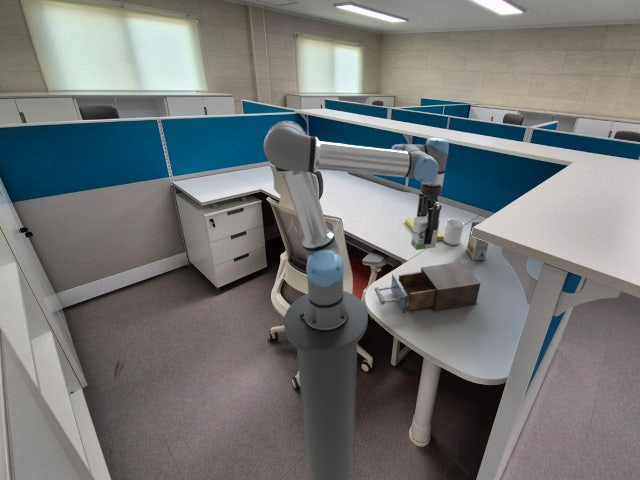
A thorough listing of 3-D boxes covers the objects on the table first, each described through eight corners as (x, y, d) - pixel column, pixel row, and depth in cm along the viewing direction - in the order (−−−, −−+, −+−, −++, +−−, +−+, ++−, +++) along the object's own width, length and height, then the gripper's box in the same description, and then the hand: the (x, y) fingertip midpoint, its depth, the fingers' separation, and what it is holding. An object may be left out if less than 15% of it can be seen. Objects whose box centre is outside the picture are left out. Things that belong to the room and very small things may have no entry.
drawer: (382, 316, 106) (383, 299, 103) (372, 292, 118) (373, 276, 115) (444, 306, 113) (447, 289, 109) (428, 284, 124) (431, 268, 121)
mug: (463, 245, 157) (466, 226, 152) (447, 246, 155) (450, 227, 150) (453, 234, 167) (456, 216, 163) (438, 235, 166) (441, 217, 161)
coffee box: (465, 250, 152) (471, 221, 146) (478, 250, 153) (484, 221, 146) (472, 260, 144) (479, 230, 137) (485, 260, 145) (492, 230, 138)
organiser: (434, 311, 111) (437, 290, 107) (418, 286, 124) (421, 267, 120) (475, 303, 116) (480, 283, 112) (456, 280, 129) (460, 261, 125)
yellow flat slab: (405, 222, 179) (421, 242, 158) (405, 219, 178) (422, 238, 157) (424, 220, 182) (442, 240, 161) (424, 217, 181) (443, 236, 160)
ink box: (416, 250, 114) (420, 222, 109) (410, 244, 118) (414, 217, 114) (436, 247, 117) (440, 220, 112) (429, 241, 121) (433, 214, 116)
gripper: (454, 191, 100) (444, 251, 110) (430, 174, 116) (422, 228, 126) (434, 192, 98) (425, 253, 108) (412, 175, 114) (406, 230, 123)
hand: (424, 239), depth 117 cm, fingers closed on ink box, 5 cm apart
